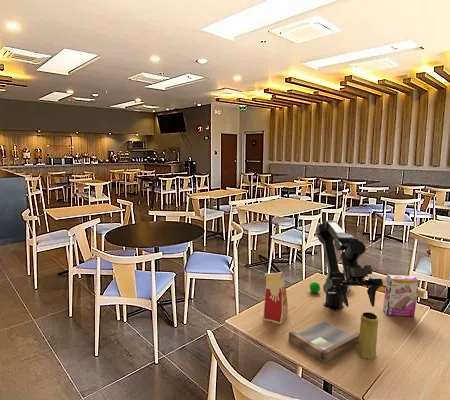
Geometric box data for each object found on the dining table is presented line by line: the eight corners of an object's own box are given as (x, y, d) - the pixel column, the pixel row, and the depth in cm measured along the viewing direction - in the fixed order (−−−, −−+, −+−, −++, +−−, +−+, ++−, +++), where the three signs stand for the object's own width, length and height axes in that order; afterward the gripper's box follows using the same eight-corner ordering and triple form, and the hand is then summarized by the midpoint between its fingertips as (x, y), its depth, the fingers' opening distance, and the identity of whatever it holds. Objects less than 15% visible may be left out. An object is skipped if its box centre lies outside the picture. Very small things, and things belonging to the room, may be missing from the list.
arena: (288, 340, 122) (288, 331, 121) (324, 323, 133) (324, 315, 133) (324, 363, 109) (324, 354, 108) (360, 342, 120) (361, 334, 120)
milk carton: (287, 314, 140) (289, 269, 137) (282, 324, 132) (283, 277, 128) (267, 309, 144) (268, 265, 141) (260, 319, 136) (261, 273, 132)
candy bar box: (387, 316, 139) (390, 279, 136) (382, 310, 144) (386, 274, 141) (415, 317, 138) (419, 280, 135) (409, 311, 143) (413, 275, 140)
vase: (375, 350, 116) (378, 312, 113) (377, 361, 110) (380, 321, 108) (356, 347, 118) (359, 309, 115) (357, 357, 112) (360, 318, 110)
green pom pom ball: (307, 292, 160) (308, 283, 159) (311, 288, 164) (311, 279, 163) (318, 295, 158) (318, 285, 157) (321, 291, 162) (321, 282, 161)
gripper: (332, 256, 121) (341, 299, 112) (383, 256, 122) (396, 299, 113) (324, 269, 130) (332, 309, 121) (371, 268, 131) (382, 309, 122)
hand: (360, 306), depth 119 cm, fingers open, 9 cm apart
